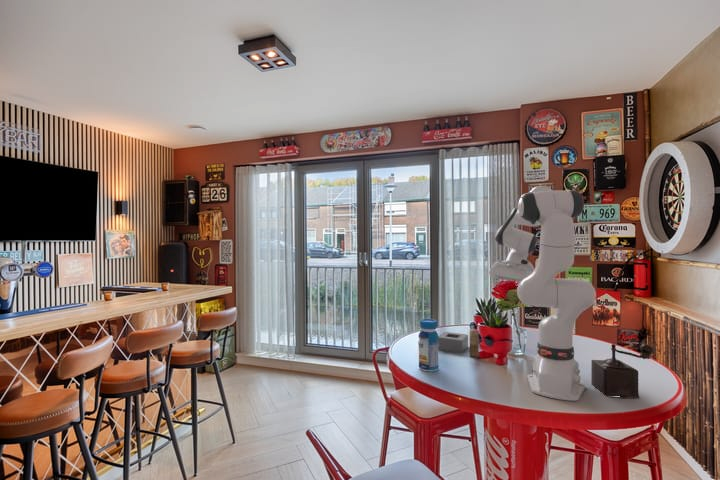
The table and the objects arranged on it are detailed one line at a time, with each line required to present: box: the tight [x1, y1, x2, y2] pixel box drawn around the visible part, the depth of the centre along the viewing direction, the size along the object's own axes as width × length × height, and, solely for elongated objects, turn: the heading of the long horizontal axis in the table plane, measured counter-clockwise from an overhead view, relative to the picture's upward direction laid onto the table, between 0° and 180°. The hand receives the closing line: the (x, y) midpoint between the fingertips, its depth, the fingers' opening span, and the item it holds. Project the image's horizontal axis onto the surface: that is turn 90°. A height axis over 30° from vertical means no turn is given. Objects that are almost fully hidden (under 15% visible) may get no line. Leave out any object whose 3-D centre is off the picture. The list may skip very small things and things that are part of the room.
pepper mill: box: [590, 343, 655, 398], centre depth 123 cm, size 16×11×18 cm
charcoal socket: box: [438, 331, 469, 354], centre depth 175 cm, size 12×12×6 cm
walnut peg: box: [469, 328, 480, 359], centre depth 162 cm, size 4×4×12 cm
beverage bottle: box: [417, 318, 440, 373], centre depth 147 cm, size 8×8×20 cm
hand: (504, 287), depth 169 cm, fingers open, 8 cm apart
